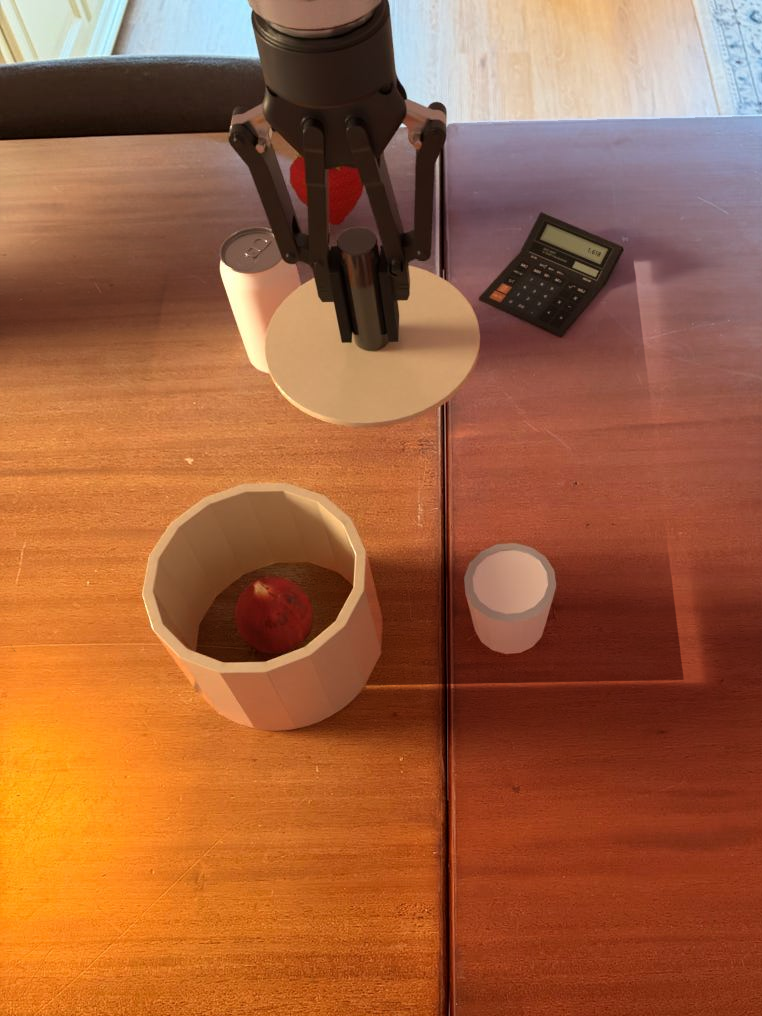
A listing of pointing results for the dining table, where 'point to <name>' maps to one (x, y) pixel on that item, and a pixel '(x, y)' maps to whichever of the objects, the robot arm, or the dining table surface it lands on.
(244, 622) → the onion
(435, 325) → the pot lid
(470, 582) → the shot glass
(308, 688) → the pot
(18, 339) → the dining table surface
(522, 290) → the calculator
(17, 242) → the dining table surface
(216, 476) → the dining table surface
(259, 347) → the can
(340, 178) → the strawberry
